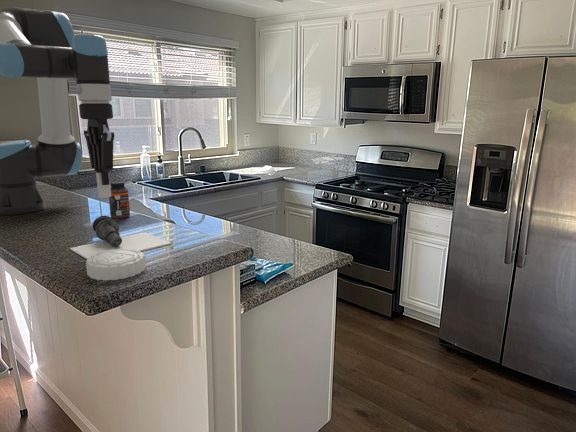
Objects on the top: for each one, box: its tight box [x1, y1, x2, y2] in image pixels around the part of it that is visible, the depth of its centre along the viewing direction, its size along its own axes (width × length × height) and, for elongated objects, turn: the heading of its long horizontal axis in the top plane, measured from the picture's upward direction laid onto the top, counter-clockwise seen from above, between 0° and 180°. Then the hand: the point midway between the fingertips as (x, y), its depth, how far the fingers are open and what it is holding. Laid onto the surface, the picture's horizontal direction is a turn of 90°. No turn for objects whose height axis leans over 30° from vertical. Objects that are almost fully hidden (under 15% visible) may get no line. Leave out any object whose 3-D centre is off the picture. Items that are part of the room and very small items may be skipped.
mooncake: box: [85, 249, 147, 281], centre depth 96 cm, size 12×12×4 cm
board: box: [69, 231, 172, 260], centre depth 112 cm, size 14×20×1 cm
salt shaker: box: [92, 215, 122, 247], centre depth 113 cm, size 6×6×12 cm
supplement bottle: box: [108, 180, 131, 219], centre depth 142 cm, size 6×6×11 cm
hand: (105, 196), depth 114 cm, fingers closed
